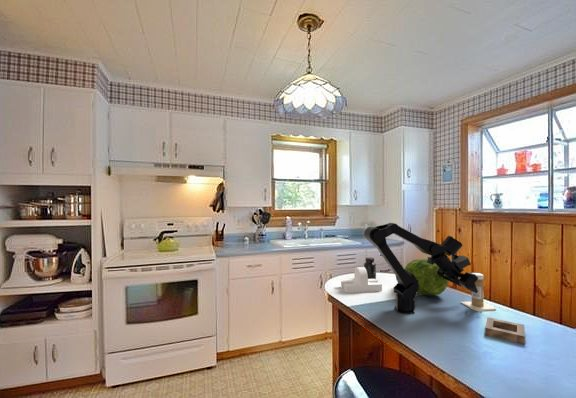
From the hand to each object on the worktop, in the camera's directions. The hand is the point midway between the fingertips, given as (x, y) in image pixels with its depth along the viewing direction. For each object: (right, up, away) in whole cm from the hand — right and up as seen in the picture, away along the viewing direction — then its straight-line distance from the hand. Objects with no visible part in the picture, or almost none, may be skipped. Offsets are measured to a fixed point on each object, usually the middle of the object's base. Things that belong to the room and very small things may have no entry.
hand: (469, 288), depth 124 cm
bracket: (-40, -8, +26) cm, 48 cm away
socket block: (-3, -8, -24) cm, 25 cm away
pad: (+4, -8, 0) cm, 9 cm away
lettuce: (-11, -8, +19) cm, 23 cm away
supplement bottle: (-30, -8, +44) cm, 54 cm away
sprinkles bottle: (+4, -7, 0) cm, 8 cm away
